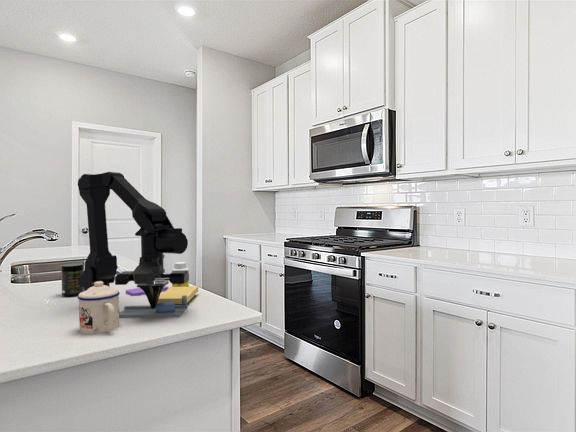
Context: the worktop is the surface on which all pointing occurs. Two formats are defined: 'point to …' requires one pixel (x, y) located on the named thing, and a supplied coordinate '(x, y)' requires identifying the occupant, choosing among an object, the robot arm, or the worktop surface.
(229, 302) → the worktop surface
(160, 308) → the blue rounded dome
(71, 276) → the supplement container
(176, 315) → the grey flanged channel
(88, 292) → the teacup with lid
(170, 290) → the cover
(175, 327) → the worktop surface
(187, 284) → the supplement bottle
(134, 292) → the sponges
